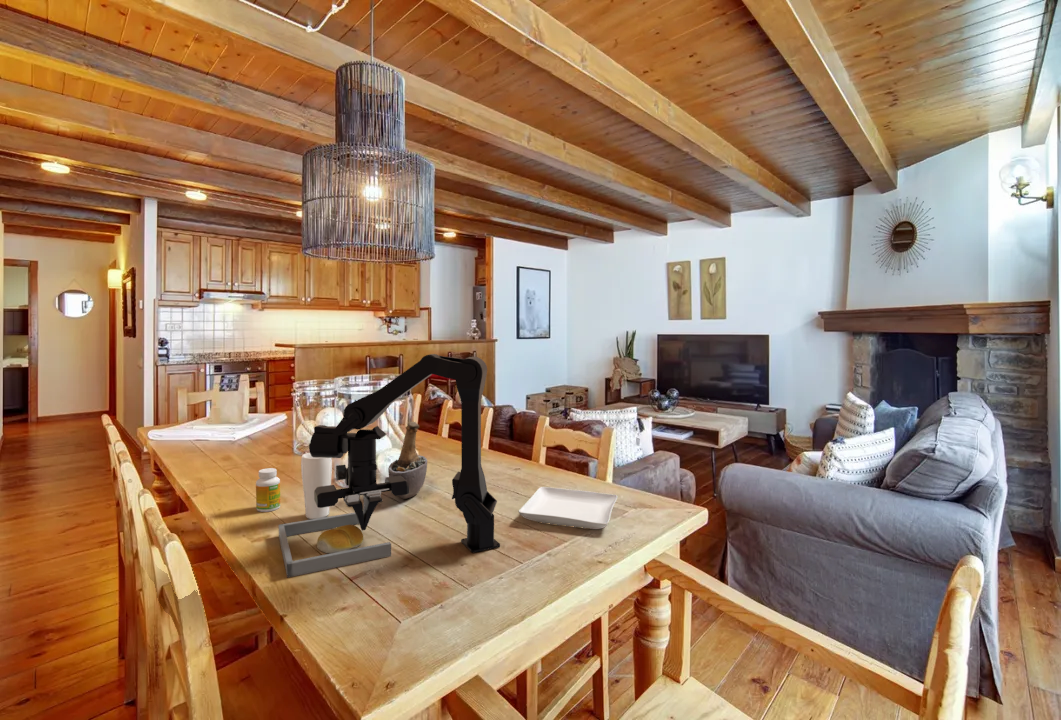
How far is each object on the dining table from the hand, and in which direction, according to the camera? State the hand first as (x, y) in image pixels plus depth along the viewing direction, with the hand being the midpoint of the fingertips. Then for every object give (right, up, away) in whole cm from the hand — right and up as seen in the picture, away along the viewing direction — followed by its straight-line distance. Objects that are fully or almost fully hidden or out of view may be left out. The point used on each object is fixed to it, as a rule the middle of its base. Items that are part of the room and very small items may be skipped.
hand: (363, 529), depth 112 cm
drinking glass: (-15, -1, +13) cm, 20 cm away
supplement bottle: (-29, -1, +18) cm, 34 cm away
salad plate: (+46, -2, +17) cm, 49 cm away
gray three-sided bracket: (-5, -2, -3) cm, 6 cm away
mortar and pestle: (+3, 0, +30) cm, 30 cm away
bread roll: (-4, -3, -3) cm, 5 cm away
